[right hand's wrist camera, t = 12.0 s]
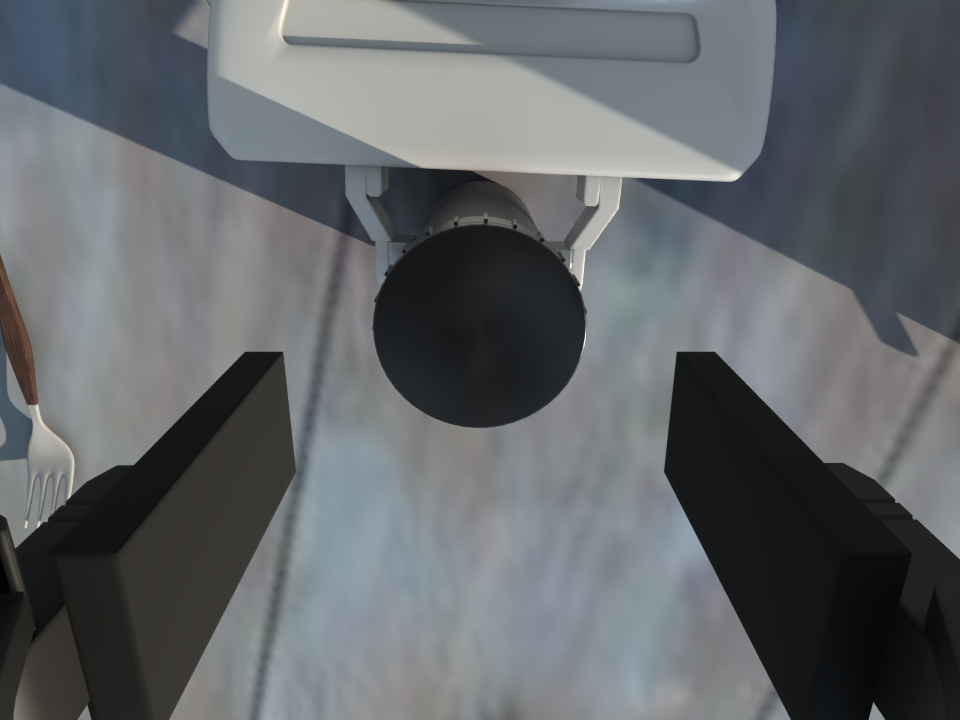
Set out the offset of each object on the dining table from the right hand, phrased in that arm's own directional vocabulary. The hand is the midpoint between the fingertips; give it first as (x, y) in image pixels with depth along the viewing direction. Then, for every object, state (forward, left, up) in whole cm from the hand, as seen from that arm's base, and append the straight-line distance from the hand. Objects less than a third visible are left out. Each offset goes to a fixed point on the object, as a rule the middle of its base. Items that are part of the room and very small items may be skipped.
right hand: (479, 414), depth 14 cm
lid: (0, 0, -6) cm, 6 cm away
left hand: (0, -1, -15) cm, 15 cm away
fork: (-25, -2, -21) cm, 33 cm away
